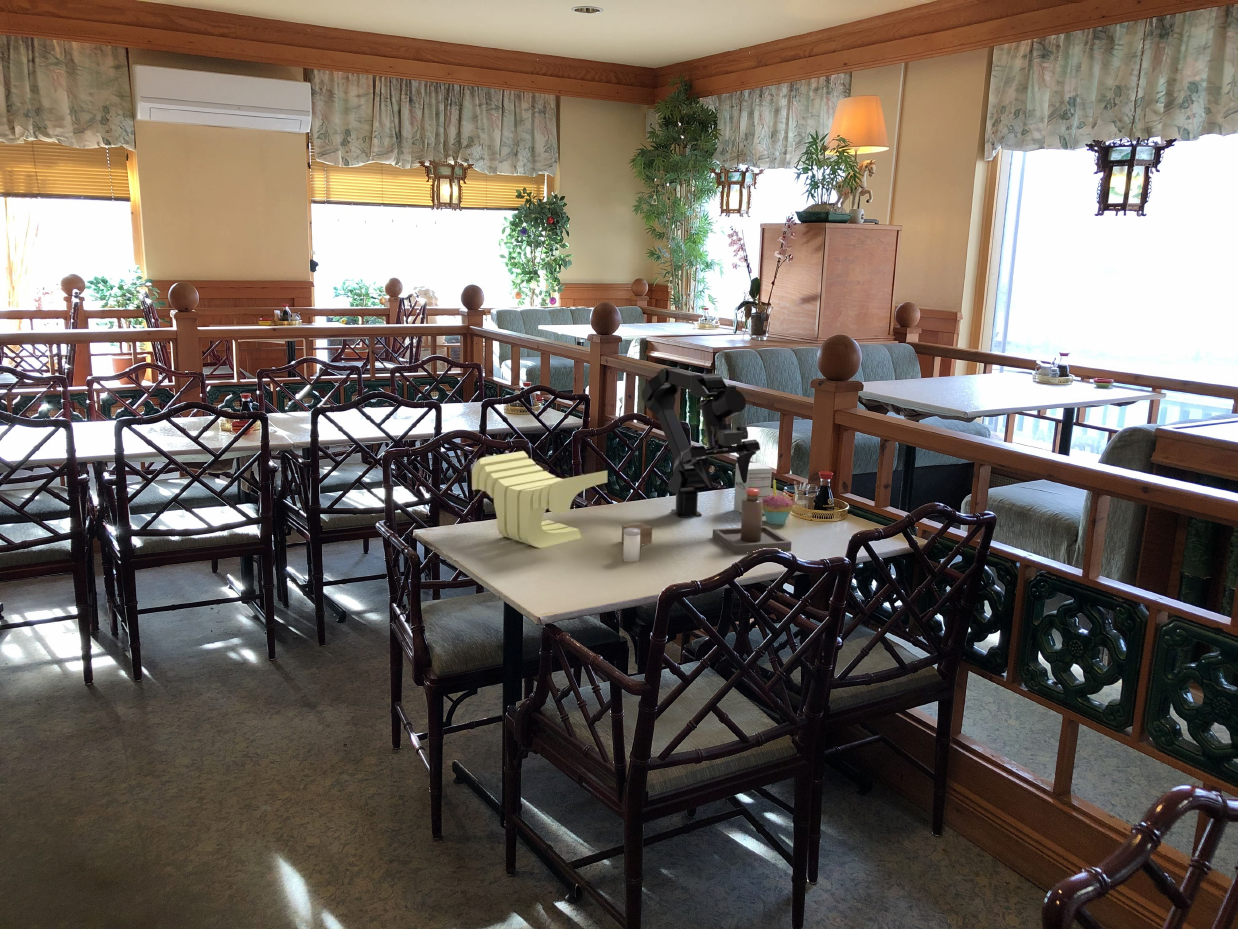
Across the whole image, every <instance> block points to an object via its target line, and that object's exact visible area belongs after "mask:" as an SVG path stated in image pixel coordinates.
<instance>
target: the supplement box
mask: <svg viewBox="0 0 1238 929" xmlns="http://www.w3.org/2000/svg"><path fill="white" fill-rule="evenodd" d="M772 469H773V468H772V467H770V466H767V465H765V464H764V463H761V462H750V463H749V467H748V474H747V482H746V483H743V481H742V479H741V475H740V471H739V467H738V463H736V464H735V478H734V498H733V499H734V501H733V509H734V510H735V511H737V512H739V513H741V514H742V499H744V498H747V494H746V489H749V488H754V489H759V495H758V499H763V498H764V497H766V496H768V495H771V490H772V489H771V486H772V474H773V472H772V471H773V470H772ZM762 514H764V515H765V513H764V511H763V510H762Z"/></svg>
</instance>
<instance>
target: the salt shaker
mask: <svg viewBox="0 0 1238 929" xmlns="http://www.w3.org/2000/svg"><path fill="white" fill-rule="evenodd" d="M622 552H623V556H622V557H623V558H622V559H624V560H625V561H624V560H623V561H624V562H627V561H630V562H629V563H634V562H633V561H637V562H639V561H640V560H641V556H640V555H641V554H640V552H641V545H640V529H638V528H626V529H624V542H623V551H622Z"/></svg>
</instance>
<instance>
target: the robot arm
mask: <svg viewBox="0 0 1238 929" xmlns="http://www.w3.org/2000/svg"><path fill="white" fill-rule="evenodd" d="M679 388H683V389H687V390H689V392H690V394H692V395H693V396H695V397H696V398H700V401H699V403H698V405H697V406H696V411H701V415H702V420H703V426H704V430H703V431H702V432H703V436H705V435H706V440H707V446H706V447H705V446H704V445H698V446H697V445H696V446H691V447H690V445H689V441H688V439H687V436H686V434H685V432H684V430H683V426H682V425H681V421H680V420H679V417H678V415H677V413H676V412H677V411H676V410H675V405H676V402H677V394H678V393H679V391H680V389H679ZM641 398H642V400H643V402H644V404H645V406H646V407H647V410H648V411H649V412H651V413H652V414H654V416H656V417H657V419H658V422H659V425H660V427H661V429H662V432H663V434H664V437H665V439H666V442H667V444H668V447H669V449H670V452H671V455H672V456H673V458H674V465H673V468H672V473H673V475H672V476H671V478H669V479H670V480H668V482H667V486H668V491H669V492H672V493H673V494H675V508H674V509H670V510H671V511H672V512H671V513H672V514H674V515H675V514H676V515H677V516H676V515H675V516H676V517H678V518H688V517H689V518H690V517H702V515H703V514H702V513H701V512H700V511H698V503H699V502H698V498H699V492H706V488H707V486H708V488H710V489H711V488H713V480H712V475H711V472H710V468H709V457H712V456H720V455H721V456H722V455H730V454H736V455H738V456H737V457H736V458H735V459H736V464H738V467H739V471H740V475H741V479H742V481H743V483H746V482H747V474H748V467H749V463H751V459H752V458H753V456H755V455H756V454H757V452H759V451H761V446H760V442H759V441H758V440H757V439H755V438H754V439H748V438H749V432H748V428H747V425H737V427H736V429H733V428H732V424H731V423H728V418H731V417H733V416H736V415H737V414H739V413H742V412H743V411H744V409H745V408H746V406H747V405H746V404H747V402H746V401H747V399H746V397H745V396H744V394H743V393H742V391H739V390H737V386H736V385H729V384H728V383H727V382H726V380H725V379H724V377H723V375H722V374H721V373H704V374H700V373H696V372H691V371H688V370H684V369H681V368H679V367H676V366H674V367H663V368H661V369H660V370H659V372H658V373H657V374H656V375H654V376H653V377H652V378H650V379H648V381H647V382H646V384H645V385H644V386H643V389H642V391H641ZM701 398H702V399H701Z"/></svg>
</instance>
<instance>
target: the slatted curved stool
mask: <svg viewBox="0 0 1238 929" xmlns="http://www.w3.org/2000/svg"><path fill="white" fill-rule="evenodd" d="M606 483H608V470H603V471H597V472H591V473H586V474H582V475H577V476H572V477H570V476H569V477H567V478H561V477H556V475H553V474H552V473H549V472H548V471H546V470H544V469H543V468H542V467H541V466H540V465H536V462H535V461H534V460H533V459H532V458H529V455H528V454H527V453H526V451H524V450H522V451H521V450H520V451H516V452H510V453H509V452H508V453H503V454H496V455H495V454H494V455H489V456H483V457H480V458H479V459H478V460H477V461H476V462H475V463H474V465H473V467H472V471H471V489H472V491H475V490H480V491H482V492H486V494H488V495H489V497H490V498H491V499H493V505H494V510H495V515H496V523H497V524H496V525H497V532H498V533H499V535H501V536H503V537H505V538H508V539H511V540H514V541H516V542H520V543H524V544H526V545H529V546H532V547H535V548H539V549H541V548H546V547H547V548H548V547H550V546H554V545H557V544H561V543H562V544H563V543H566V542H571V541H574V540H575V541H576V540H579V539H581V538H582V535H581V533H580V530H579V528H576V527H572V526H569V525H566V524H563V523H560V522H557V523H556V521H553V520H549V519H547V520H543V517H544V516H545V513H546V511H547V510H548V511H549V512H551V513H552V514H561V513H565V512H570V510H571V505H572V502H573V501H574V500H575V497H577V495H578V494H580V493H581V492H582V491H584V490H587V489H589V488H591V487H592V488H593V487H595V486H597V485H602V484H606Z"/></svg>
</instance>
